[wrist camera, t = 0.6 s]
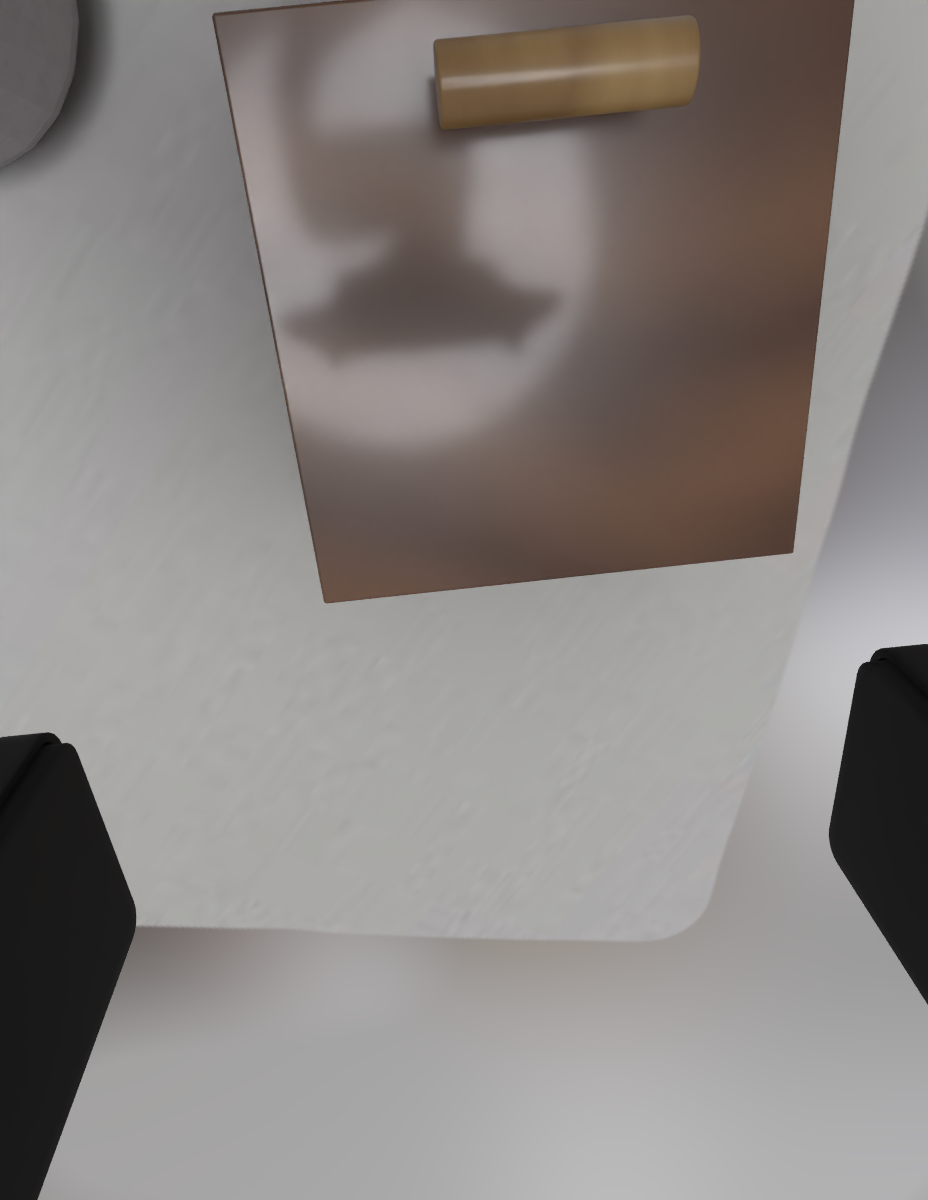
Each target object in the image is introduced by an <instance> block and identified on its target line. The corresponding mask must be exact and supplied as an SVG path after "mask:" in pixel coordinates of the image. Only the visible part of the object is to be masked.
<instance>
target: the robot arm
mask: <svg viewBox="0 0 928 1200" xmlns="http://www.w3.org/2000/svg"><path fill="white" fill-rule="evenodd" d="M829 840H830V846H831V850H832V853H833V855H834V858H835V860H836V862H837V863H838V865H839V866H840V868H841V870H842V871H843V873H844V874H845V876H846V877H847V879H848V881H849V882H850V884H851V885H852V887H853V888H854V890H855V891H856V893H857V895H858V896H859V898H860V899H861V901H862V902H863V904H864V905H865V907H866V909H867V910H868V912H869V913H870V915H871V916H872V918H873V920H874V921H875V923H876V924H877V926H878V927H879V929H880V931H881V932H882V934H883V935H884V937H885V938H886V940H887V941H888V943H889V945H890V946H891V948H892V949H893V951H894V952H895V954H896V956H897V957H898V959H899V960H900V962H901V963H902V965H903V966H904V968H905V970H906V971H907V973H908V974H909V976H910V977H911V979H912V980H913V982H914V984H915V985H916V987H917V988H918V990H919V991H920V993H921V995H922V996H923V998H924V999H925V1001H926V1003H927V1004H928V644H921V645H911V646H901V647H891V648H882V649H879V650H877V651H875V653H874V654H873V656H872V657H871V660H870V662H866V663H863V664H862V665H861V666H860V667H859V670H858V673H857V677H856V683H855V688H854V694H853V700H852V705H851V711H850V716H849V722H848V727H847V734H846V738H845V744H844V750H843V755H842V761H841V767H840V772H839V777H838V783H837V788H836V794H835V800H834V805H833V811H832V816H831V822H830V828H829ZM135 927H136V908H135V904H134V901H133V898H132V896H131V893H130V890H129V888H128V885H127V882H126V880H125V877H124V875H123V872H122V869H121V867H120V864H119V861H118V859H117V856H116V853H115V851H114V848H113V846H112V843H111V840H110V838H109V835H108V832H107V830H106V827H105V824H104V822H103V819H102V817H101V814H100V811H99V809H98V806H97V803H96V801H95V798H94V795H93V793H92V790H91V788H90V785H89V782H88V780H87V777H86V774H85V772H84V769H83V766H82V764H81V761H80V759H79V756H78V753H77V751H76V749H75V748H74V747H73V746H72V745H71V744H69V743H61V741H60V740H59V738H58V737H57V736H56V735H55V734H52V733H49V732H48V733H38V734H28V735H18V736H8V737H1V738H0V1200H37V1199H38V1197H39V1194H40V1191H41V1188H42V1186H43V1182H44V1180H45V1177H46V1174H47V1172H48V1169H49V1166H50V1163H51V1161H52V1158H53V1155H54V1153H55V1150H56V1147H57V1145H58V1142H59V1139H60V1136H61V1134H62V1131H63V1128H64V1125H65V1123H66V1120H67V1117H68V1114H69V1112H70V1109H71V1106H72V1103H73V1101H74V1098H75V1095H76V1093H77V1090H78V1087H79V1084H80V1082H81V1079H82V1076H83V1073H84V1071H85V1068H86V1065H87V1062H88V1060H89V1057H90V1054H91V1051H92V1049H93V1046H94V1043H95V1041H96V1038H97V1035H98V1032H99V1029H100V1027H101V1024H102V1021H103V1019H104V1016H105V1013H106V1010H107V1008H108V1005H109V1002H110V999H111V997H112V994H113V991H114V988H115V986H116V983H117V980H118V977H119V975H120V972H121V969H122V967H123V964H124V961H125V958H126V956H127V953H128V950H129V947H130V945H131V942H132V939H133V936H134V932H135Z"/></svg>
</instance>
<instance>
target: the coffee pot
mask: <svg viewBox="0 0 928 1200" xmlns="http://www.w3.org/2000/svg"><path fill="white" fill-rule="evenodd" d="M78 33H79V15H78V8H77V0H0V170H1V169H2V168H4V167H5V166H7V165H8V164H10V163H11V162H13V161H14V160H16V159H18V158H19V157H21V156H22V155H24V154H25V153H27V152H28V151H30V150H31V149H33V148H34V147H35V146H36V145H37V143H38V142H39V141H40V139H41V138H42V137H43V135H44V134H45V133H46V132H47V130H48V129H49V128H50V126H51V125H52V124H53V123H54V121H55V120H56V119H57V117H58V116H59V115H60V112H61V109H62V107H63V104H64V101H65V98H66V96H67V93H68V90H69V87H70V85H71V82H72V79H73V77H74V74H75V68H76V56H77V45H78Z"/></svg>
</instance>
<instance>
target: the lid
mask: <svg viewBox="0 0 928 1200" xmlns="http://www.w3.org/2000/svg"><path fill="white" fill-rule="evenodd" d="M853 9H854V0H343V1H332V2H322V3H311V4H301V5H290V6H280V7H269V8H259V9H249V10H238V11H228V12H217V13H214V14H213V16H212V18H213V23H214V29H215V34H216V39H217V44H218V50H219V55H220V60H221V65H222V70H223V76H224V81H225V86H226V91H227V97H228V102H229V107H230V112H231V118H232V123H233V128H234V133H235V138H236V144H237V149H238V154H239V159H240V165H241V170H242V175H243V180H244V186H245V191H246V196H247V201H248V206H249V212H250V217H251V222H252V227H253V233H254V238H255V243H256V248H257V254H258V259H259V264H260V269H261V274H262V280H263V285H264V290H265V295H266V301H267V306H268V311H269V316H270V322H271V327H272V332H273V337H274V342H275V348H276V353H277V358H278V363H279V369H280V374H281V379H282V384H283V390H284V395H285V400H286V405H287V410H288V416H289V421H290V426H291V431H292V437H293V442H294V447H295V452H296V458H297V463H298V468H299V473H300V478H301V484H302V489H303V494H304V499H305V505H306V510H307V515H308V520H309V526H310V531H311V536H312V541H313V546H314V552H315V557H316V562H317V567H318V573H319V578H320V583H321V588H322V594H323V599H324V602H325V603H334V602H344V601H353V600H362V599H371V598H381V597H390V596H399V595H408V594H418V593H427V592H436V591H445V590H455V589H464V588H473V587H483V586H492V585H501V584H510V583H520V582H529V581H538V580H547V579H557V578H566V577H575V576H584V575H594V574H603V573H612V572H622V571H631V570H640V569H649V568H659V567H668V566H677V565H686V564H696V563H705V562H714V561H723V560H733V559H742V558H751V557H760V556H770V555H779V554H788V553H793V549H794V540H795V531H796V522H797V513H798V504H799V495H800V486H801V477H802V468H803V459H804V450H805V441H806V432H807V423H808V414H809V405H810V396H811V387H812V378H813V369H814V360H815V351H816V342H817V333H818V324H819V315H820V306H821V297H822V288H823V279H824V270H825V261H826V252H827V243H828V234H829V225H830V216H831V207H832V198H833V189H834V180H835V171H836V162H837V153H838V144H839V135H840V126H841V117H842V108H843V99H844V90H845V81H846V72H847V63H848V54H849V45H850V36H851V27H852V18H853Z"/></svg>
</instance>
